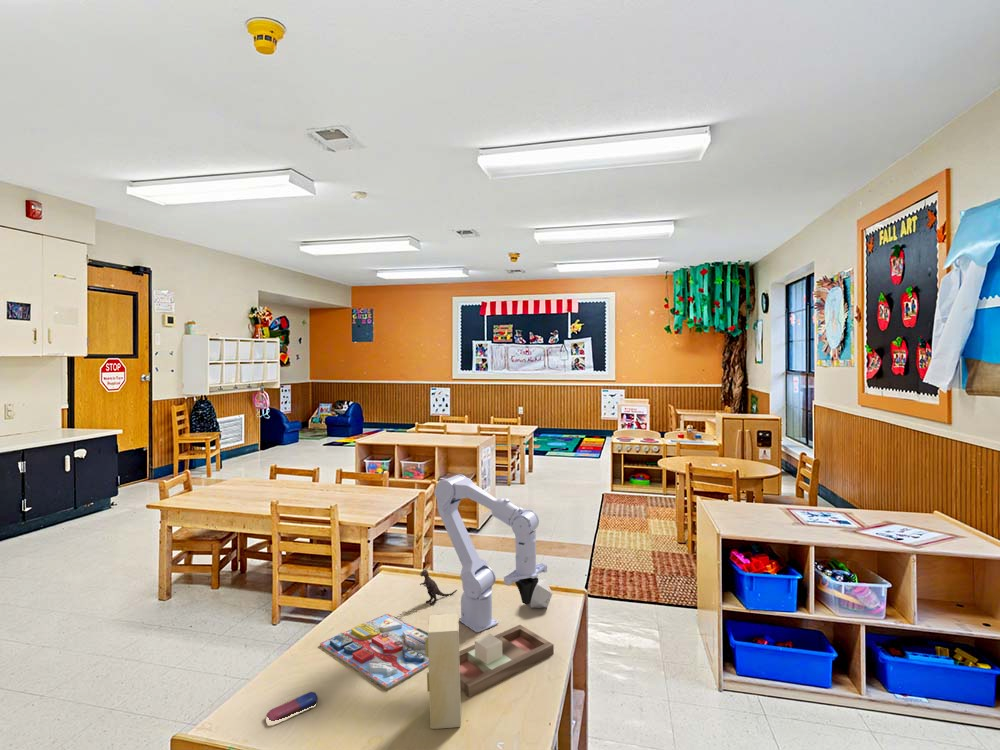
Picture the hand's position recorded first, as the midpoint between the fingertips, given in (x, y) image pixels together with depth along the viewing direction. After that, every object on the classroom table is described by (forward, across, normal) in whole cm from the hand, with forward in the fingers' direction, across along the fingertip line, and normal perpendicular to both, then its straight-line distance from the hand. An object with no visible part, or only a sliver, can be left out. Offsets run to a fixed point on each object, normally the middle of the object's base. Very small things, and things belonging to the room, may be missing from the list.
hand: (526, 603), depth 149 cm
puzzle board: (+10, -33, +20) cm, 40 cm away
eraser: (+10, -61, +10) cm, 63 cm away
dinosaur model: (+10, -7, +35) cm, 37 cm away
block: (+7, -17, -4) cm, 19 cm away
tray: (+9, -14, -4) cm, 18 cm away
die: (+10, +15, +11) cm, 21 cm away
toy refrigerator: (+10, -36, -13) cm, 39 cm away
